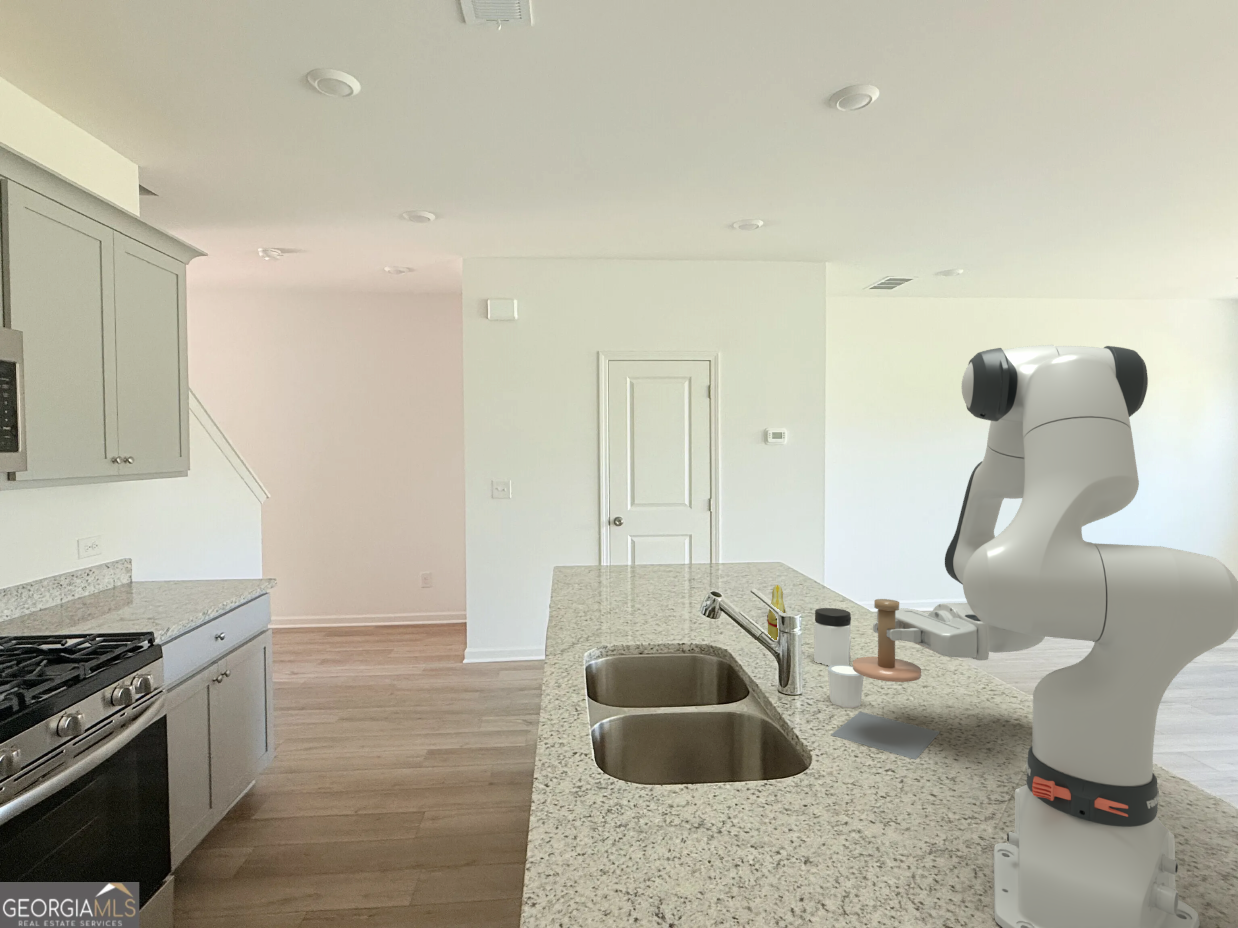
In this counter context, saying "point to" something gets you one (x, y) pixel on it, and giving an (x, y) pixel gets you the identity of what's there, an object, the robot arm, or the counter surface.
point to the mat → (886, 734)
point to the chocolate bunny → (772, 620)
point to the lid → (886, 651)
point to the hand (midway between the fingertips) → (881, 631)
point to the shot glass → (845, 686)
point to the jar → (832, 636)
